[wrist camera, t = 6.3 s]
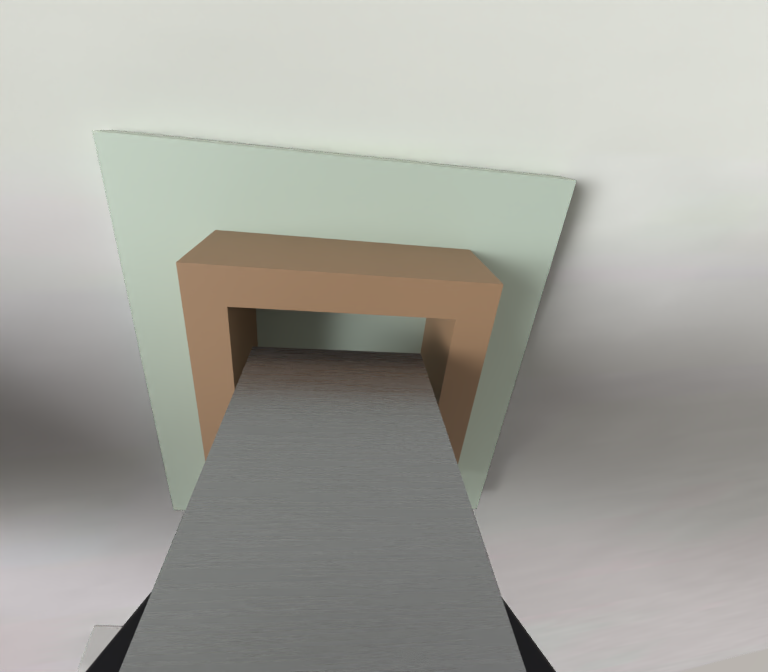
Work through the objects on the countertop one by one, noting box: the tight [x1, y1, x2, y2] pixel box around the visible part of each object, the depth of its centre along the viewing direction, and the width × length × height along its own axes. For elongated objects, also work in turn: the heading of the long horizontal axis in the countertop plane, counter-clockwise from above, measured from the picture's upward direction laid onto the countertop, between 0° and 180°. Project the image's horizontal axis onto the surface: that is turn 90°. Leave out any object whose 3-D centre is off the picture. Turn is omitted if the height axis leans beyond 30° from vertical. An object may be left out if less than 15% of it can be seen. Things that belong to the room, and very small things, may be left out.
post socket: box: [92, 130, 577, 510], centre depth 13 cm, size 13×14×4 cm
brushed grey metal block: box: [119, 346, 526, 672], centre depth 7 cm, size 4×6×8 cm, turn 174°
